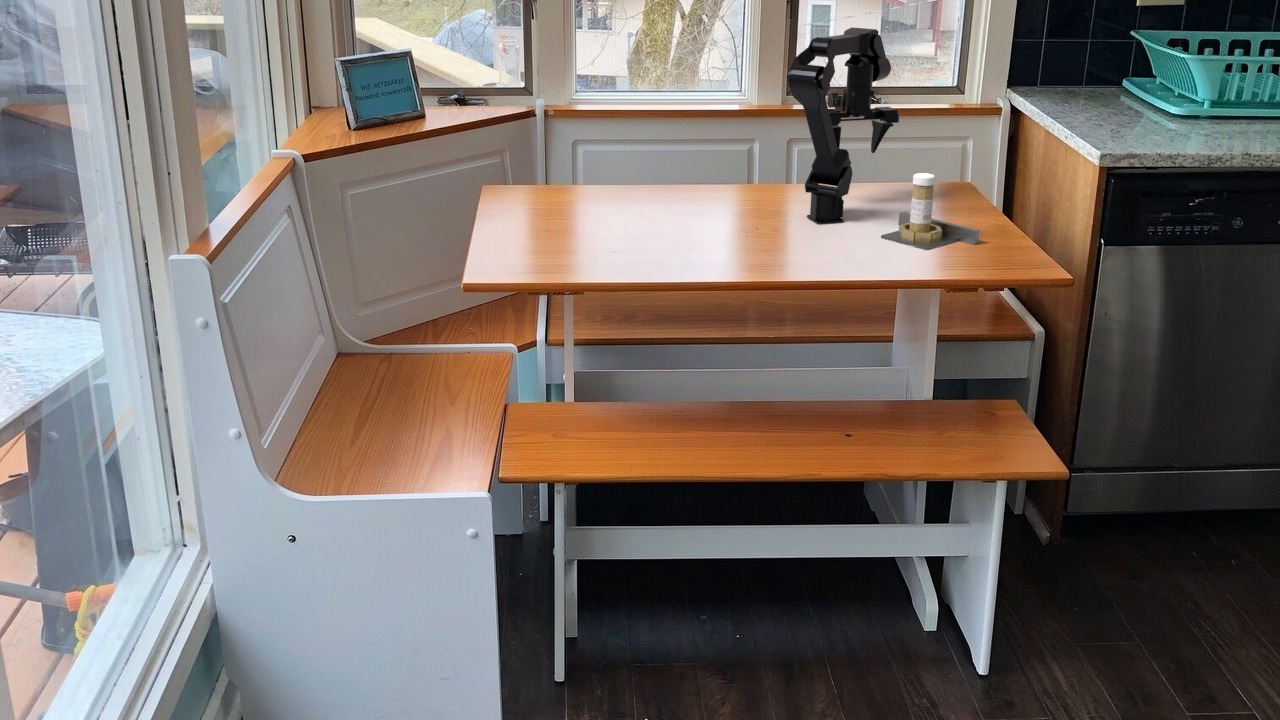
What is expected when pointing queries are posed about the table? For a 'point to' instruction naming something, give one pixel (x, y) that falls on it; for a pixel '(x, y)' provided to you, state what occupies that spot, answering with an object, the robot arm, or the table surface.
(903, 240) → the plate
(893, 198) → the table surface
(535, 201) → the table surface
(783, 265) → the table surface
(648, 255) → the table surface
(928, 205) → the sprinkles bottle
